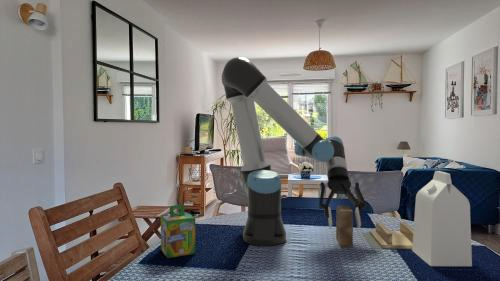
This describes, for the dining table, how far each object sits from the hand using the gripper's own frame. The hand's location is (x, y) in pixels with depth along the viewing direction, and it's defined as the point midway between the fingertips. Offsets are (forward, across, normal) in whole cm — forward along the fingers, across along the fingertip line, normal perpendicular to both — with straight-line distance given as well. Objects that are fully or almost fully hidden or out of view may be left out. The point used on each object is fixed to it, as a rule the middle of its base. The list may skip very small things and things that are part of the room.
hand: (345, 226), depth 119 cm
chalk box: (+11, +54, +2) cm, 55 cm away
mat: (+1, -18, -7) cm, 20 cm away
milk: (+12, -26, +3) cm, 29 cm away
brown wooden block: (+4, 0, -5) cm, 6 cm away
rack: (+1, -18, -7) cm, 19 cm away
